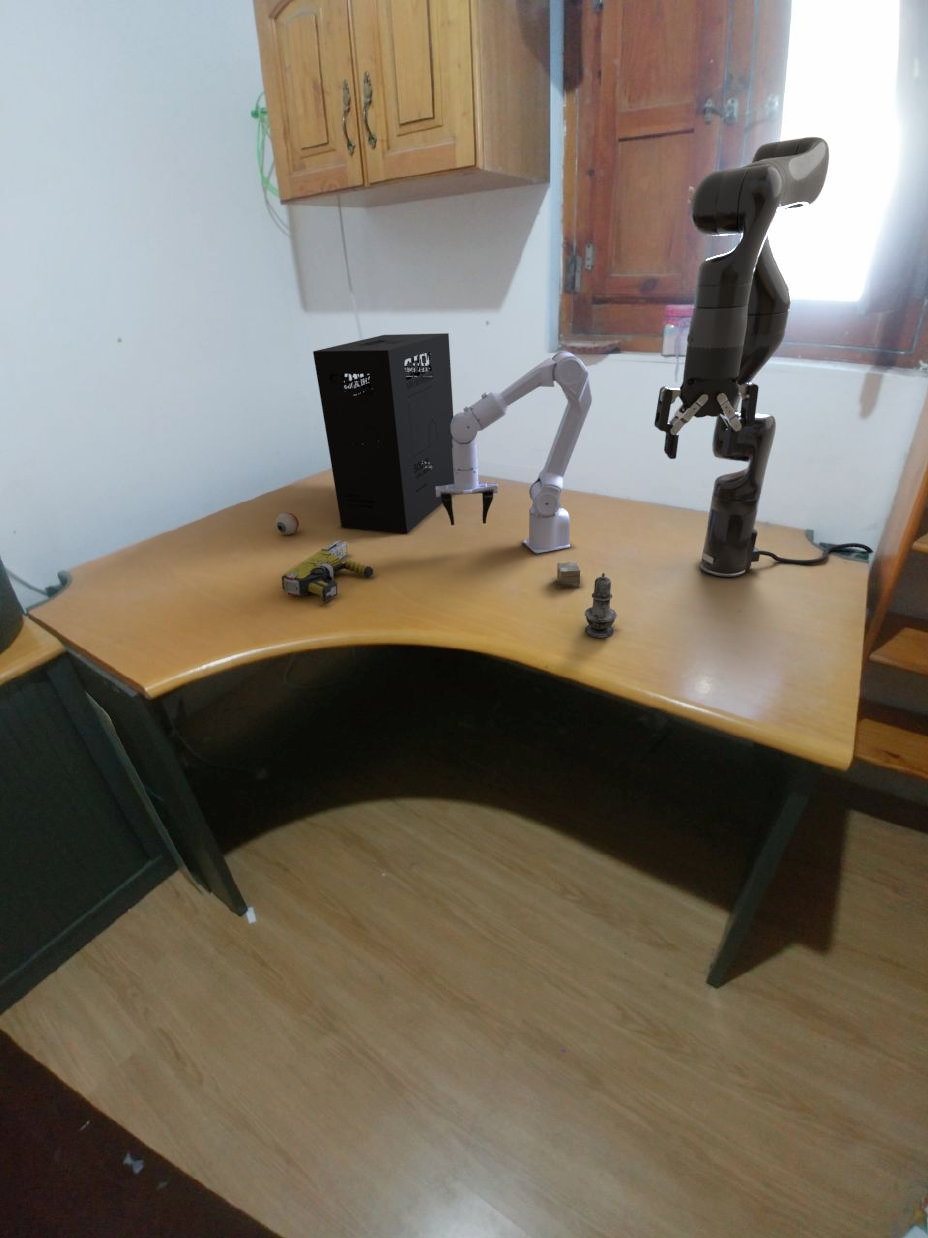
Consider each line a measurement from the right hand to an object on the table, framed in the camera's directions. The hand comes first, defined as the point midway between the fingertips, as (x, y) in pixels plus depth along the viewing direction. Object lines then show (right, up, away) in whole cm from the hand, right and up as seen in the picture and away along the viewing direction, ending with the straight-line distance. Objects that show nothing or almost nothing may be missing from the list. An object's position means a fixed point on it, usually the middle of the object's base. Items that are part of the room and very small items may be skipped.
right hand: (698, 456), depth 94 cm
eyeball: (-84, -2, +71) cm, 111 cm away
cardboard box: (-55, +8, +86) cm, 102 cm away
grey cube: (-14, -18, +38) cm, 44 cm away
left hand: (-35, -2, +53) cm, 63 cm away
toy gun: (-65, -16, +46) cm, 81 cm away
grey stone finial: (-11, -28, +20) cm, 36 cm away
